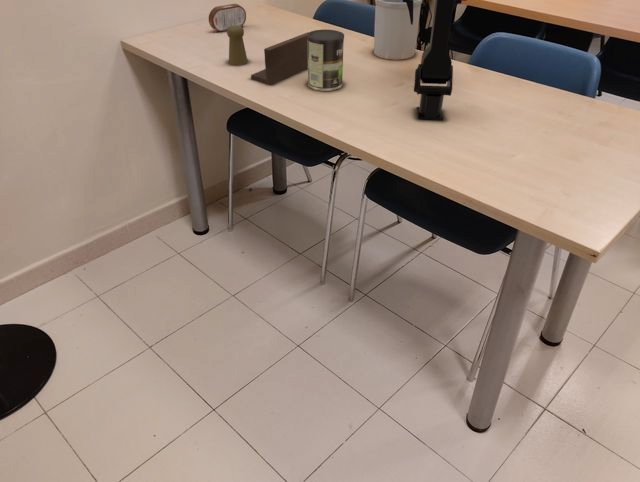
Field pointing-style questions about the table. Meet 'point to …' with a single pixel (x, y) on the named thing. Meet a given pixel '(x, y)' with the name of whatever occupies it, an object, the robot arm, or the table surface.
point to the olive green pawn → (236, 46)
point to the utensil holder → (395, 29)
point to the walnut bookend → (284, 60)
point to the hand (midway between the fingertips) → (427, 24)
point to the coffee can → (325, 59)
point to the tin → (227, 17)
